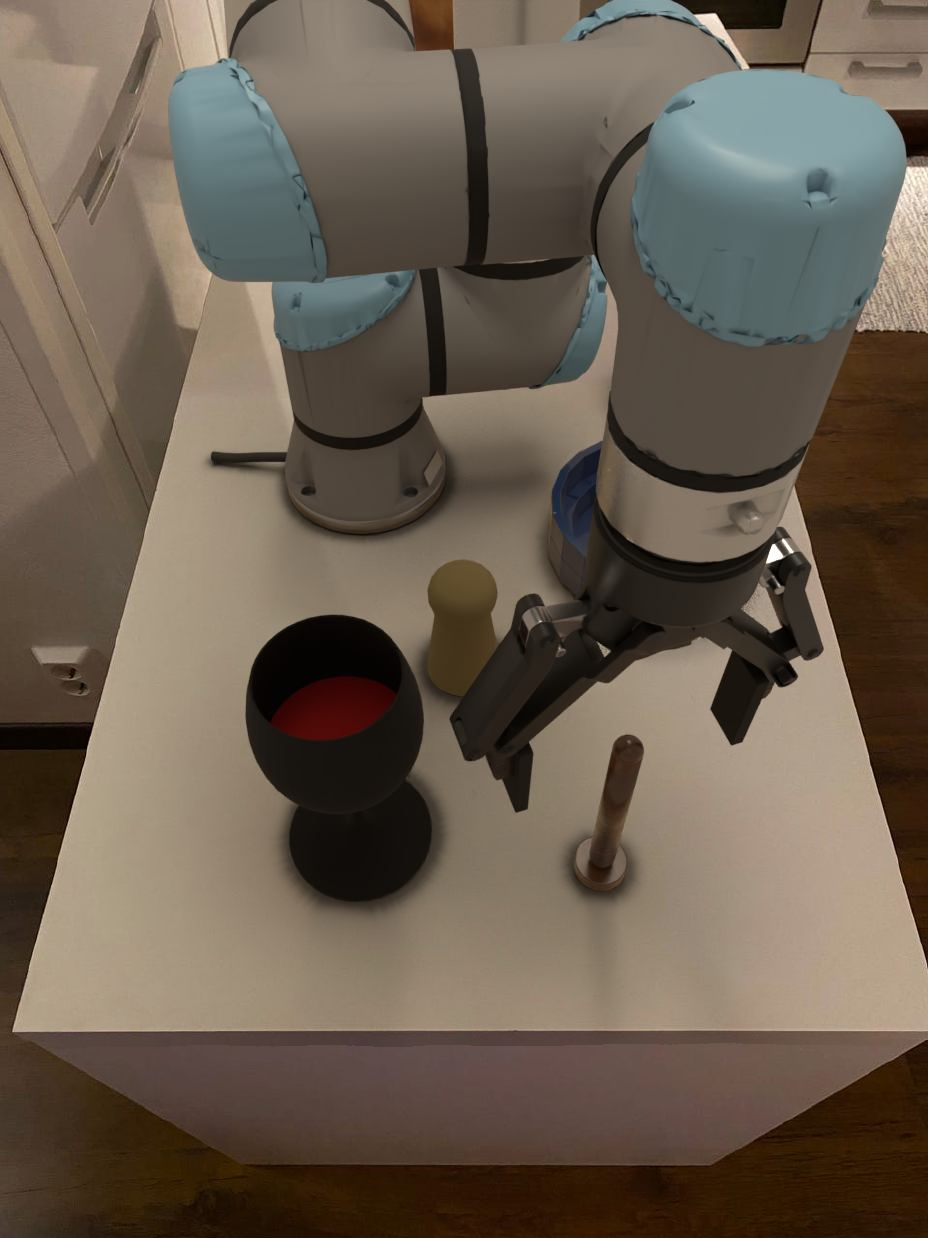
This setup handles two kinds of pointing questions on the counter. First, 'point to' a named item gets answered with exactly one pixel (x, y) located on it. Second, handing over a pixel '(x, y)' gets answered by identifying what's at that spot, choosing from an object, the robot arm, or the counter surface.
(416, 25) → the butternut squash
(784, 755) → the counter surface
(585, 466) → the bowl
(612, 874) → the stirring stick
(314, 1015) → the counter surface
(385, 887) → the wine glass
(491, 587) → the cork
